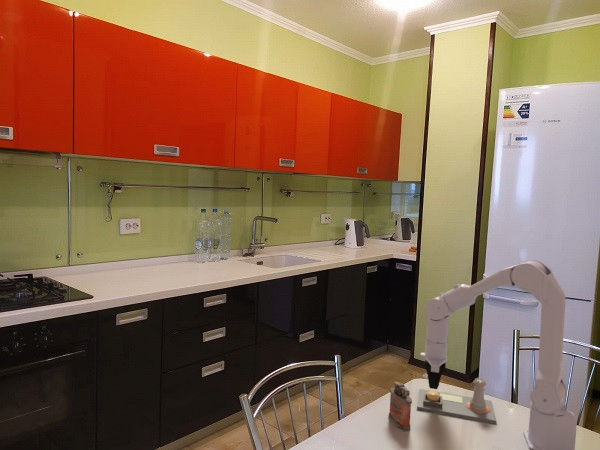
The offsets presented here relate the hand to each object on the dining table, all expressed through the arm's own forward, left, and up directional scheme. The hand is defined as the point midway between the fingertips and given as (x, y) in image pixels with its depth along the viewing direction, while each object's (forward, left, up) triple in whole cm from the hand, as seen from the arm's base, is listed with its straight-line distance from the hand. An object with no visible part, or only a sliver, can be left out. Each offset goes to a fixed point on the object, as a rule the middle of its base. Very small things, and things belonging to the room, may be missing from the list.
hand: (433, 387), depth 122 cm
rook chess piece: (-12, -1, -4) cm, 13 cm away
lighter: (+8, +13, -5) cm, 16 cm away
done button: (0, 0, -3) cm, 3 cm away
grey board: (-6, -2, -5) cm, 8 cm away
